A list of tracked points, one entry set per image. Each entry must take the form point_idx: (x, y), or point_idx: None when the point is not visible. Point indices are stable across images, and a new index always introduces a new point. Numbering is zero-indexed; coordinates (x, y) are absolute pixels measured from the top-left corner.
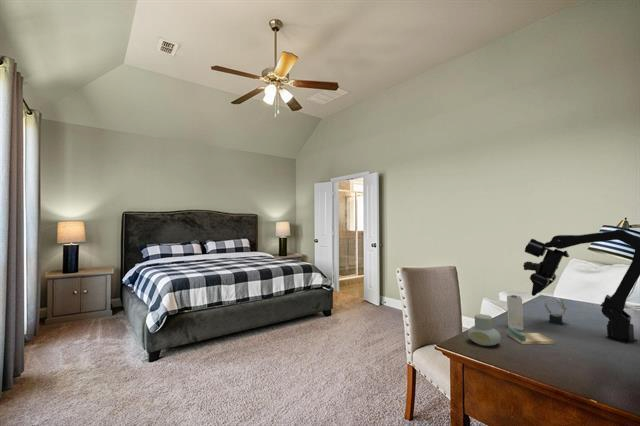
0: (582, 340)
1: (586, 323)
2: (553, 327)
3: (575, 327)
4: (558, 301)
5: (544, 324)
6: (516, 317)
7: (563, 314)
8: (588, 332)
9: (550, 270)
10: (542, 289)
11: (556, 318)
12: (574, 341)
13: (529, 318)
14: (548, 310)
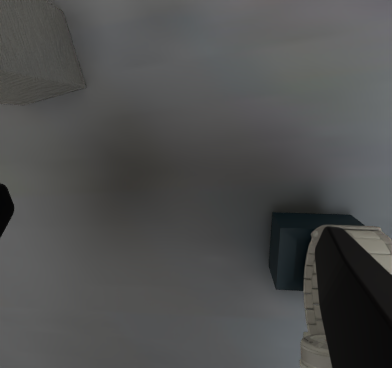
0: (49, 329)
1: None
2: (187, 231)
3: (257, 317)
4: (326, 361)
5: (223, 189)
6: None
7: (305, 310)
8: (196, 357)
9: None
10: (329, 331)
11: (275, 260)
12: (11, 304)
13: (327, 100)
14: (318, 236)
